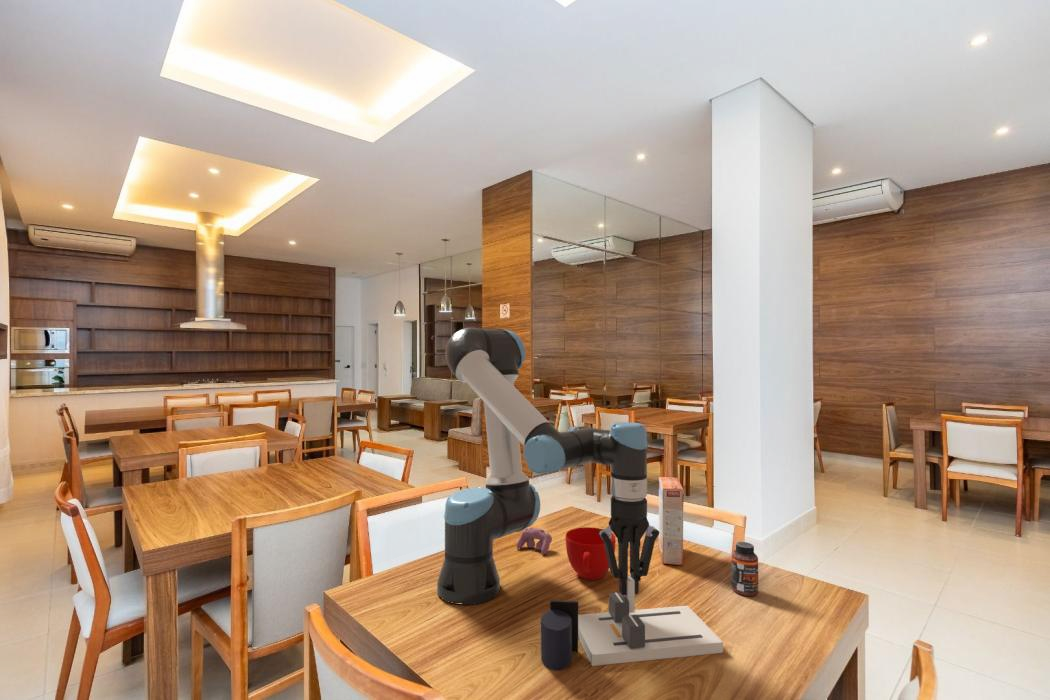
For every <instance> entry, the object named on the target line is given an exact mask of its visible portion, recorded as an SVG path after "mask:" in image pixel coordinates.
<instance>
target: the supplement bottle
mask: <svg viewBox="0 0 1050 700" xmlns="http://www.w3.org/2000/svg"><path fill="white" fill-rule="evenodd" d="M730 569H731V574H730V575H731V582H730V583H731V589H732V591H733V592H735V593H736V594H739V595H740V596H744V597H745V596H746V597H754V596H756V595H757V594H758V593H759V557H758V555H757V554H756V553H755V547H754V544H752V543H750V542H747V541H737V542H736V543H735V549H734V550H733V551H732V552H731V567H730Z"/></svg>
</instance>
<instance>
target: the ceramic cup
mask: <svg viewBox="0 0 1050 700" xmlns="http://www.w3.org/2000/svg"><path fill="white" fill-rule="evenodd" d="M600 529H602V528H599V527H592V526H591V527H589V526H586V527H577V528H573V529H570V530H568V531H567V532H566V533H565V550H566V555H567V559H568V561H569V564H570V566H571V567H572V569H573V570H574V571H575V573H576V574H577V575H578V577H580V578H582V579H585V580H589V581H590V580H592V581H595V580H599V579H602V578H604V575H605V574H606V573H607V572H608V571H610V568H609V564H608V559H607V555H606V551H605V547H604V542H603V539H602V538H601V536H600V535H599V533H598V531H599V530H600ZM604 529H605V528H603V529H602V530H604ZM611 535H612V538H611V539H610V540H611V542H612V545H613V549H614V553H615V552H616V542H617V541H616V539H617V538H616V536H615V534H614V533H613V532H612V533H611Z"/></svg>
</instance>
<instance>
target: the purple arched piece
mask: <svg viewBox="0 0 1050 700" xmlns="http://www.w3.org/2000/svg"><path fill="white" fill-rule="evenodd" d="M535 540H538V541H537V542H536V541H535ZM552 541H553V536H552V535H551V534H550V533H548V532H547V531H545V530H544V529H541V528H537V527H532V528H530V527H527V528H525V529H524V530H522V531H521V534H520V536H519V538H518V540H517V543H516V549H517V550H518V549H519V548H521V549H522V548H523V547H524V545H525V544H526V546H527V548H530V549H533V548H536V549H537V550H539V551H541V555H542V556H546V554H547V553H548V551H549V549H550V545H551V543H552ZM519 550H520V549H519Z"/></svg>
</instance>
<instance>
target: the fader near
mask: <svg viewBox="0 0 1050 700" xmlns="http://www.w3.org/2000/svg"><path fill="white" fill-rule="evenodd" d="M622 637H623V638H624V640H625V642H626V643H627V645H628V646H629V648H640V647H645V625H644V623H643V622H642V621H641V619H640V618H639V617H638V615H637V614H636V615H624V616H622Z"/></svg>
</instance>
